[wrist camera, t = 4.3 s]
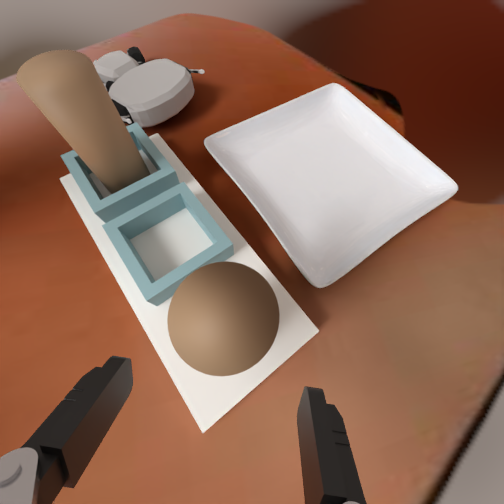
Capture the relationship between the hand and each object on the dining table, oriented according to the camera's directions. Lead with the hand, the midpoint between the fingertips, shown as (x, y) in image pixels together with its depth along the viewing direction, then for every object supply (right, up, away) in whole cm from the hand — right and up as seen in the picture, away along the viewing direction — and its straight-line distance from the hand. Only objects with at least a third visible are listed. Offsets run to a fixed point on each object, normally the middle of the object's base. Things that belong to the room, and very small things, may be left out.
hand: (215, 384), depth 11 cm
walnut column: (0, -1, +10) cm, 10 cm away
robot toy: (-14, +27, +23) cm, 38 cm away
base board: (-6, +6, +14) cm, 16 cm away
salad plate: (+10, +15, +19) cm, 26 cm away
